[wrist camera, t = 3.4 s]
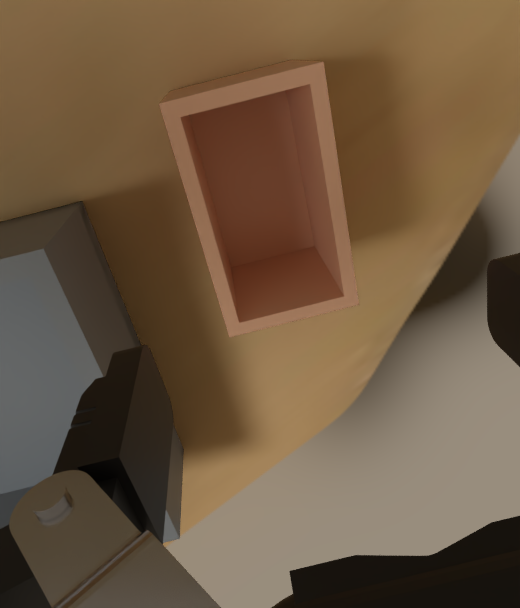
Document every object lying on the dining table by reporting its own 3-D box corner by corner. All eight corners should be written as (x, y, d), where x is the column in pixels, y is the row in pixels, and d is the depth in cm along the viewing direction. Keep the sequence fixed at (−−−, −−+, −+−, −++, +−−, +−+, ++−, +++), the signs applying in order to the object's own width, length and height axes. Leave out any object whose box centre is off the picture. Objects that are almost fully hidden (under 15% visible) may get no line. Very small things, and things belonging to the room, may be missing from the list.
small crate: (170, 91, 23) (158, 103, 17) (291, 59, 23) (323, 61, 17) (223, 275, 28) (229, 337, 22) (324, 249, 28) (359, 304, 22)
